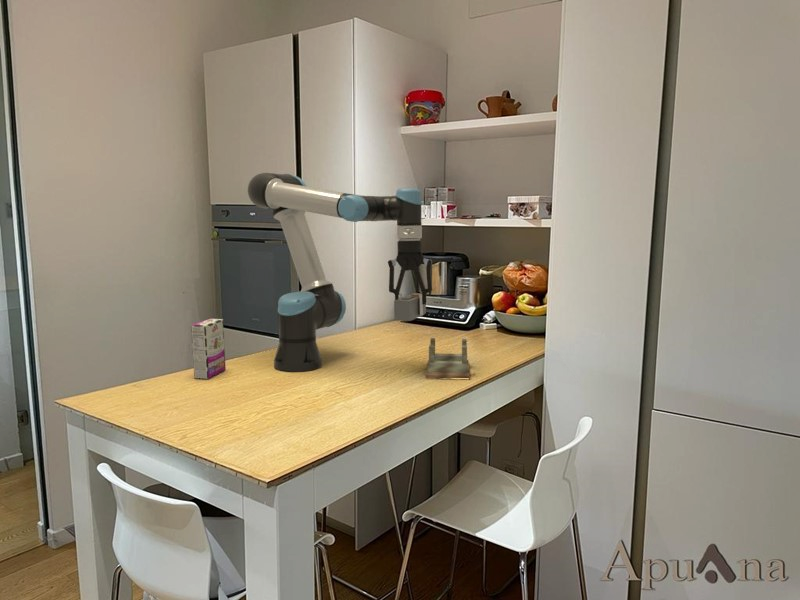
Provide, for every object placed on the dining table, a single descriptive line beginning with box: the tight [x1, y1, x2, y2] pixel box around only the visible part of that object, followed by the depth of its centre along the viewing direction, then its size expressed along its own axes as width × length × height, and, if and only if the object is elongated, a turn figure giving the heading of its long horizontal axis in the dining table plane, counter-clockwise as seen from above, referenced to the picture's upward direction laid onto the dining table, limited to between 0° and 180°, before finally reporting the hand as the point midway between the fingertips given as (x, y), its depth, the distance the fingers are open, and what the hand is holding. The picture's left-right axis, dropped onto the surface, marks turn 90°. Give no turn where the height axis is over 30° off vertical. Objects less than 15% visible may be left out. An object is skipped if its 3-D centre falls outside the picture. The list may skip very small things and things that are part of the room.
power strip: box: [393, 292, 427, 322], centre depth 191 cm, size 5×16×6 cm, turn 161°
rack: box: [424, 337, 470, 379], centre depth 193 cm, size 13×20×9 cm, turn 175°
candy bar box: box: [190, 318, 227, 380], centre depth 187 cm, size 11×5×16 cm, turn 168°
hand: (410, 314), depth 192 cm, fingers closed on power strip, 6 cm apart
